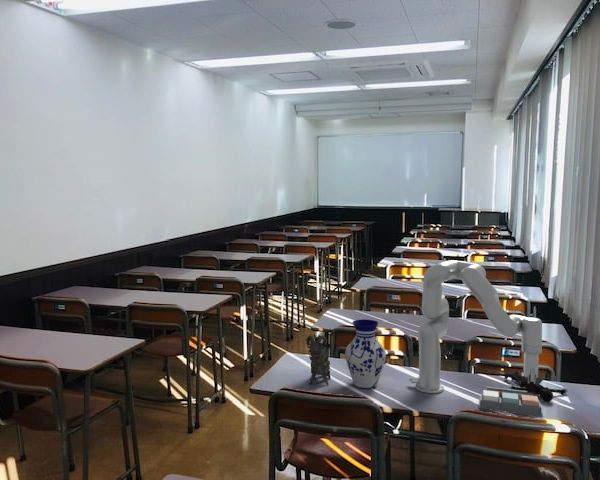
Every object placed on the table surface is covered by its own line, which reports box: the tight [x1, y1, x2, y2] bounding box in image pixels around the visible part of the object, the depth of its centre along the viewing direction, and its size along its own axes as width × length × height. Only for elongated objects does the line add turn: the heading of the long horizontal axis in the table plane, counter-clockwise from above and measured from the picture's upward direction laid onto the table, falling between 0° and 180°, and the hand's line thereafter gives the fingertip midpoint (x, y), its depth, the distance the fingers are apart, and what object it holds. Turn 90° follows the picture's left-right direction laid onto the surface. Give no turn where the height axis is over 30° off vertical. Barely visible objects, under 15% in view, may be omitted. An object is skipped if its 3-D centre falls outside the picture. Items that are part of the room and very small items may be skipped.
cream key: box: [482, 389, 499, 402], centre depth 215 cm, size 6×6×3 cm
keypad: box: [478, 386, 544, 417], centre depth 213 cm, size 24×11×6 cm, turn 69°
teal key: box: [502, 392, 518, 404], centre depth 212 cm, size 6×6×3 cm
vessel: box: [305, 333, 332, 386], centre depth 244 cm, size 11×25×24 cm, turn 170°
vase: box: [344, 319, 387, 390], centre depth 239 cm, size 19×19×30 cm
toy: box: [503, 372, 569, 403], centre depth 231 cm, size 29×7×30 cm
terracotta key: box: [521, 395, 539, 407], centre depth 209 cm, size 6×6×3 cm
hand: (531, 391), depth 209 cm, fingers closed
